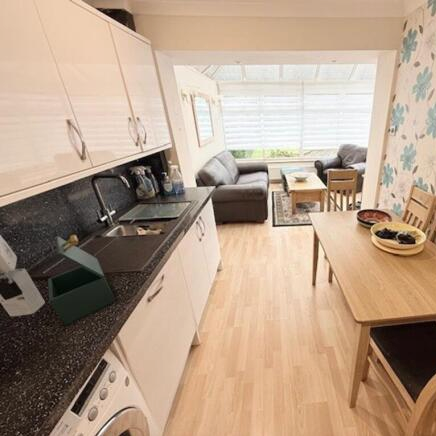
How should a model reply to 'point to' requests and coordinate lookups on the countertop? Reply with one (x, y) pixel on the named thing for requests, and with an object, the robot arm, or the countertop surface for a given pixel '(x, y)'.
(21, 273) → the cosmetic box
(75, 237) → the lid
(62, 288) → the chest
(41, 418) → the countertop surface
